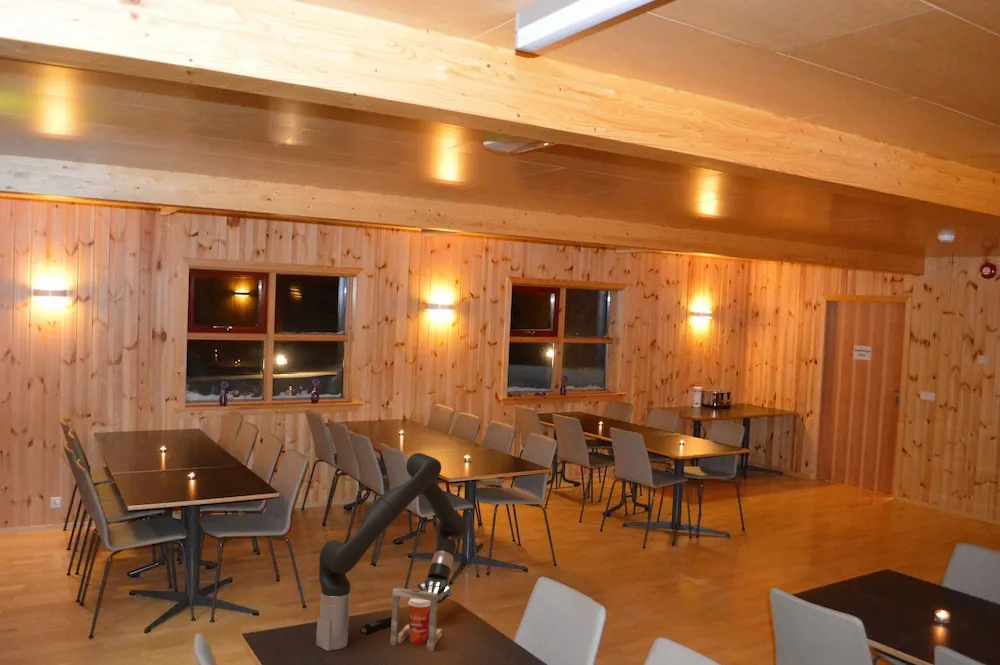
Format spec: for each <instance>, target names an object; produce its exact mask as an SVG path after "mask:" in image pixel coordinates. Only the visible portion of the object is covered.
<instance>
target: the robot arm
mask: <svg viewBox="0 0 1000 665" xmlns="http://www.w3.org/2000/svg"><path fill="white" fill-rule="evenodd" d="M406 471H407V473H408V475H409V477H410V479H409V480H408V481H406V482H404V483H402V484H401V485H399V486H396V487H395V488H392V489H390V490H388V491H385V492H383V493H382V494H381V495H379V497H378V498H376V500H375V501H374V502H372V503H371V504H370V506H369V507H368V508H367V510H366V511H365V513H364V516H363V519H362V521H361V524H360V526H359V529H358V530H357V531H356V532H355V534H354V535H352V537H350V539H349V540H348V541H346V542H345V543H344V542H342V541H341V540H337V539H335V540H329V541H327V542H326V543H324V545H323V547H322V548H321V551H320V554H319V567H318V568H319V572H318V573H319V574H318V577H319V578H318V580H319V584H320V587H321V588H320V589H321V591H320V592H321V593H320V608H319V610H320V612H319V615H318V616H317V617H316V618H317V620H316V635H315V636H316V639H315V640H316V641H315V645H316V646H317V647H319V648H321V649H323V650H325V651H327V652H329V651H336V650H340V649H344V648H345V647H347V645H348V642H349V641H348V639H349V622H350V620H349V619H350V600H351V582H350V581H349V579H348V578H347V576H346V574H347V573H348V572H350V571H351V570H352V569H353V568H355V566H356V565H357V564H358V562H359V561H360V560H361V559H362V557H363V556H364V555H365V554H366V552H367V551H368V549H369V548H370V547H371V546H372V544H374V543H375V541H376V540H377V539H378V538H379V537H380V536H381V535H382V533H383V532H384V531H385V530H386V529H388V527H390V525H391V524H392V523H393V522H394V521H395V520H397V518H398V517H399V515H401V513H402V512H403V511H404V510H405V509H406V508H407V507H408V506H409V505H410V504H411V503H412V502H414V500H415V499H417V497H418V496H420V494H423V495H424V497H425V499H426V500H427V502H428V503H429V505H430V508H431V509H432V511H433V514H434V515H435V518H436V519H437V520H438V524H437V545H436V548H435V551H434V555H433V557H432V559H431V562H430V566H429V570H428V572H427V577H426V578H425V580H424V582H423V583H422V584H420V583H417V589H419V590H420V591H425V590H426V592H432V593H438V601H437V604H442V603H443V602H444V601H445V600H446V599H448V598H449V597H450V596H451V595H452V594H453V592H452V589H451V588H450V587H449V585H448V582H449V579H450V574H451V572H452V569H453V568H452V567H453V563H454V557H455V553H456V551H457V550H456V549H457V542H455V541H454V540H453V539H450V538H460V537H462V536H464V535H465V534H466V532H467V523H466V521H465V518H464V517H463V516H462V515H461V514H460V513H459V512H458V510H456V509H455V508H454V507H453V505H452V502H451V500H450V499H449V496H448V495H447V494H446V492H444V490H443V489H442V488H441V487H440V486H439V484H437V482H436V481H437V479H438V478H439V476H440V475H441V472H442V464H441V462H440V461H439V459H436V458H435V457H432V456H430V455H427V454H426V453H421V452H415V453H413V454H412V455H410V456H409V458H408V459H407V461H406ZM429 615H430V613H429Z"/></svg>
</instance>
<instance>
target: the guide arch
mask: <svg viewBox="0 0 1000 665" xmlns="http://www.w3.org/2000/svg"><path fill="white" fill-rule="evenodd" d="M401 597H403V598H409V599H411V598H416V599H423V600H430V601H431V602H430V614H429V623H428V639H427V640H426V649H427V651H428V652H434V651H435V650H436V644H437V643H438V642H439V641H440V639H441V638H442V637H443V636H442V634H443V629H442V628H437V621H438V620H437V616H438V603H437V601H438V593H432V592H428V591H425V590H424V591H420V590H419V589H418V588H411V589H410V588H409V589H408V588H401V587H394V588H393V589H392V602H391V603H392V604H391V607H392V609H391V617H392V622H391V626H390V642H389V643H390V646H397V645H401V644H402V643H403V642H404V641H405V639H406V638H408V636H409V623H408V624H406V625H405V626H404V627H403V628H402V629H401V631H400V632H399V622H400V620H399V619H400V601H401Z"/></svg>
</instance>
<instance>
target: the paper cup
mask: <svg viewBox="0 0 1000 665" xmlns="http://www.w3.org/2000/svg"><path fill="white" fill-rule="evenodd" d="M430 602H431V601H430V600H423V599H416V598H409V601H408V603H407V604H408V605H409V607H408V608H409V609H408V610H409V613H408V614H409V616H408V618H409V619H408V620H409V621H408V624H409V635H408V636H409V643H411V644H413V645H424V644H425V643H427V640H428V639H427V638H428V632H429V621H430V614H429V613H430Z"/></svg>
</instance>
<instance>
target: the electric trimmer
mask: <svg viewBox="0 0 1000 665" xmlns="http://www.w3.org/2000/svg"><path fill="white" fill-rule="evenodd" d="M391 622H392V616H389V617H385V618H382V619H381V620H377V621H374V622H370V623H365V624H364V625H363V626H362V627H361V629H360V630H359V633H360V632H361V633H360V634H363V635H364V634H365V635H364V636H366V635H369V634H370V633H372V632H374V631H377V630H381V629H387V628H388V627H391Z"/></svg>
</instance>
